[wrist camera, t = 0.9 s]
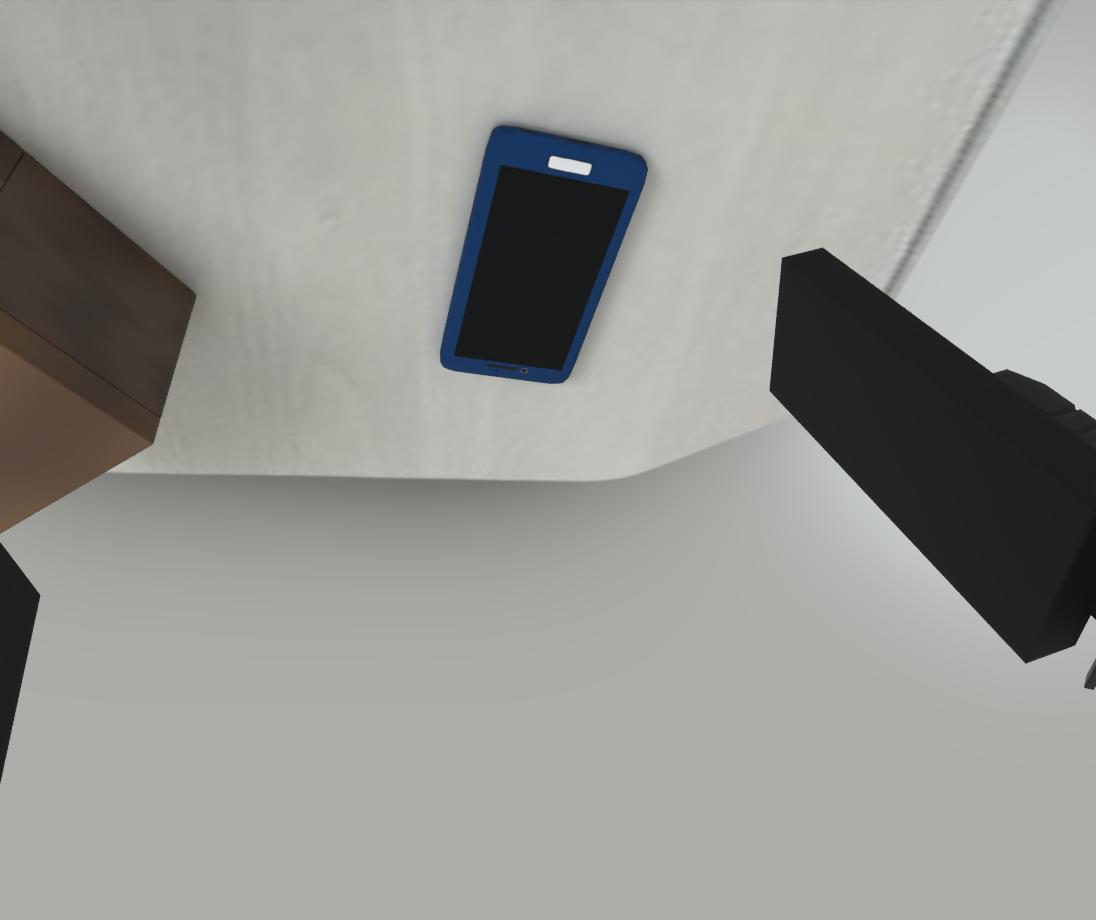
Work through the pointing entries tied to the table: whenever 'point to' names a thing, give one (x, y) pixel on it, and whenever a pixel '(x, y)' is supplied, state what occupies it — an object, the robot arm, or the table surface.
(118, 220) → the table surface
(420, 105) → the table surface
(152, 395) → the walnut shelf
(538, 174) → the cell phone
